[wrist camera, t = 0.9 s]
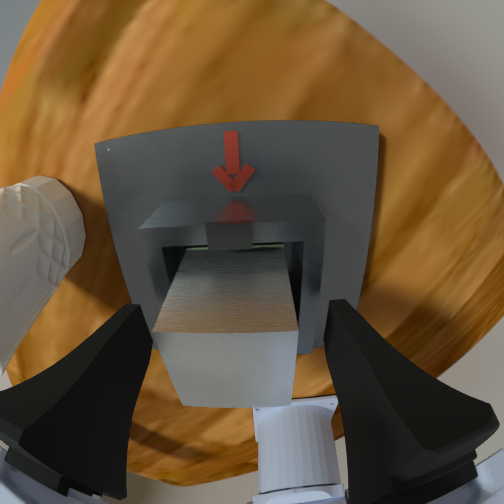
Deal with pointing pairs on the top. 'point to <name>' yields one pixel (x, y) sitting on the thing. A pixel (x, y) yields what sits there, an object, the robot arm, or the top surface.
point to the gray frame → (245, 205)
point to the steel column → (230, 328)
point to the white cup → (34, 253)
